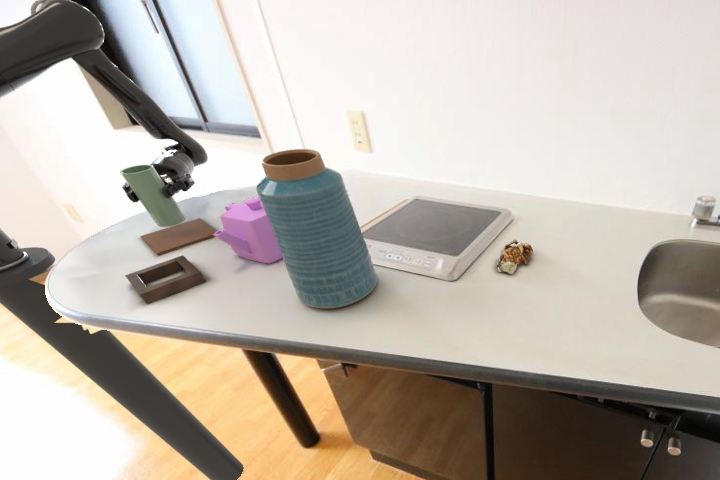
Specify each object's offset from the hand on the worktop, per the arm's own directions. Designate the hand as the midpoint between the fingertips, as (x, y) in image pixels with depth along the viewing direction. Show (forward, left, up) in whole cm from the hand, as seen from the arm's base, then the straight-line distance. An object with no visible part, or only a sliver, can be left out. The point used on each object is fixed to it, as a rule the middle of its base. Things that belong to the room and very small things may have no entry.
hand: (149, 196), depth 86 cm
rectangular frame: (-8, -21, -12) cm, 25 cm away
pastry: (+48, -74, -12) cm, 89 cm away
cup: (+1, +2, -7) cm, 8 cm away
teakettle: (+14, -24, -12) cm, 30 cm away
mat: (+1, +2, -12) cm, 12 cm away
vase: (+15, -52, -12) cm, 55 cm away
